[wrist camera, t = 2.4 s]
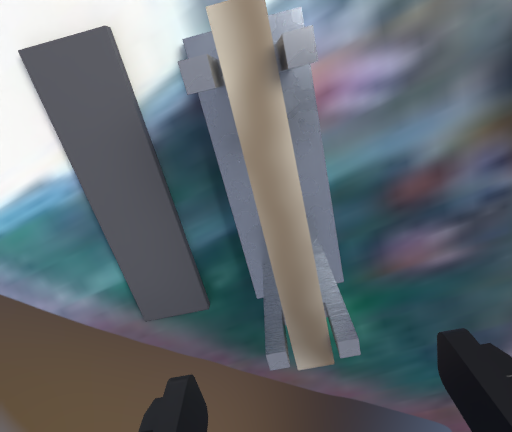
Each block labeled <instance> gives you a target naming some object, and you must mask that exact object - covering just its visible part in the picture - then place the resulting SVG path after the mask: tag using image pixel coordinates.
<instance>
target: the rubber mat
mask: <svg viewBox="0 0 512 432" xmlns="http://www.w3.org/2000/svg"><path fill="white" fill-rule="evenodd" d="M18 52H19V54H20V56H21V58H22V61H23V63H24V65H25V67H26V69H27V71H28V73H29V75H30V78H31V80H32V82H33V84H34V86H35V88H36V90H37V92H38V94H39V97H40V99H41V101H42V103H43V105H44V107H45V109H46V111H47V114H48V116H49V118H50V120H51V122H52V124H53V126H54V128H55V131H56V133H57V135H58V137H59V139H60V141H61V143H62V145H63V148H64V150H65V152H66V154H67V156H68V158H69V160H70V162H71V165H72V167H73V169H74V171H75V173H76V175H77V177H78V179H79V182H80V184H81V186H82V188H83V190H84V192H85V194H86V196H87V198H88V201H89V203H90V205H91V207H92V209H93V211H94V213H95V215H96V218H97V220H98V222H99V224H100V226H101V228H102V230H103V232H104V235H105V237H106V239H107V241H108V243H109V245H110V247H111V249H112V252H113V254H114V256H115V258H116V260H117V262H118V264H119V266H120V269H121V271H122V273H123V275H124V277H125V279H126V281H127V283H128V286H129V288H130V290H131V292H132V294H133V296H134V298H135V300H136V302H137V305H138V307H139V309H140V311H141V313H142V315H143V317H144V319H145V321H151V320H156V319H161V318H166V317H171V316H176V315H181V314H186V313H192V312H197V311H202V310H207V309H209V306H210V302H209V299H208V297H207V294H206V291H205V288H204V286H203V283H202V280H201V277H200V275H199V272H198V269H197V266H196V263H195V261H194V258H193V255H192V252H191V250H190V247H189V244H188V241H187V239H186V236H185V233H184V230H183V227H182V225H181V222H180V219H179V216H178V214H177V211H176V208H175V205H174V203H173V200H172V197H171V194H170V191H169V189H168V186H167V183H166V180H165V178H164V175H163V172H162V169H161V167H160V164H159V161H158V158H157V155H156V153H155V150H154V147H153V144H152V142H151V139H150V136H149V133H148V131H147V128H146V125H145V122H144V120H143V117H142V114H141V111H140V108H139V106H138V103H137V100H136V97H135V95H134V92H133V89H132V86H131V84H130V81H129V78H128V75H127V72H126V70H125V67H124V64H123V61H122V59H121V56H120V53H119V50H118V48H117V45H116V42H115V39H114V36H113V34H112V31H111V28H110V27H108V26H102V27H99V28H95V29H92V30H88V31H85V32H81V33H78V34H74V35H71V36H67V37H64V38H60V39H57V40H53V41H50V42H46V43H43V44H39V45H36V46H32V47H29V48H25V49H22V50H18Z"/></svg>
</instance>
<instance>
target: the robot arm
mask: <svg viewBox="0 0 512 432" xmlns="http://www.w3.org/2000/svg"><path fill="white" fill-rule="evenodd" d="M437 356H438V371H439V375H440V378H441V380H442V383H443V385H444V387H445V389H446V390H447V392H448V394H449V395H450V397H451V398H452V400H453V402H454V403H455V405H456V407H457V408H458V410H459V411H460V413H461V415H462V416H463V418H464V420H465V421H466V423H467V424H468V426H469V428H470V429H471V431H472V432H512V357H511V356H510V355H508V354H506V353H505V352H503V351H502V350H500V349H499V348H497V347H495V346H494V345H492V344H491V343H487V344H481V345H480V344H479V343H478V342H477V341H476V339H475V338H474V337H473V336H472V335H471V333H470V332H469V331H468V330H466V329H464V328H461V329H456V330H450V331H444V332H439V333H438V335H437ZM207 426H208V413H207V406H206V403H205V401H204V398H203V396H202V394H201V391H200V389H199V387H198V384H197V382H196V380H195V377H194V376H193V375H186V376H181V377H175V378H170V379H169V380H168V382H167V385H166V389H165V392H164V395H163V397H161V398H156V399H155V400H154V401H153V402H152V404H151V406H150V407H149V408H148V410H147V411H146V413H145V414H144V417H143V420H142V423H141V426H140V429H139V432H207Z"/></svg>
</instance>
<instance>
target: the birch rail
mask: <svg viewBox="0 0 512 432" xmlns="http://www.w3.org/2000/svg"><path fill="white" fill-rule="evenodd" d="M206 10H207V14H208V18H209V22H210V26H211V30H212V34H213V38H214V42H215V46H216V49H217V53H218V57H219V61H220V65H221V69H222V73H223V77H224V81H225V85H226V89H227V93H228V97H229V101H230V105H231V108H232V112H233V116H234V120H235V124H236V128H237V132H238V136H239V140H240V144H241V148H242V152H243V156H244V160H245V164H246V167H247V171H248V175H249V179H250V183H251V187H252V191H253V195H254V199H255V203H256V207H257V211H258V215H259V219H260V223H261V226H262V230H263V234H264V238H265V242H266V246H267V250H268V254H269V258H270V262H271V266H272V270H273V274H274V278H275V282H276V285H277V289H278V293H279V297H280V301H281V305H282V309H283V313H284V317H285V321H286V325H287V329H288V333H289V337H290V341H291V344H292V348H293V352H294V356H295V360H296V364H297V368H298V370H303V369H309V368H315V367H320V366H326V365H332V364H334V359H333V353H332V348H331V343H330V338H329V332H328V327H327V322H326V317H325V311H324V306H323V301H322V296H321V291H320V285H319V280H318V275H317V270H316V264H315V259H314V254H313V249H312V244H311V238H310V233H309V228H308V223H307V217H306V212H305V207H304V202H303V196H302V191H301V186H300V181H299V176H298V170H297V165H296V160H295V155H294V149H293V144H292V139H291V134H290V128H289V123H288V118H287V113H286V108H285V102H284V97H283V92H282V87H281V81H280V76H279V71H278V66H277V61H276V55H275V50H274V45H273V40H272V34H271V29H270V24H269V19H268V13H267V8H266V3H265V0H228V1H225V2H221V3H218V4H214V5H210V6H207V7H206Z"/></svg>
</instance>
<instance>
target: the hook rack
mask: <svg viewBox="0 0 512 432" xmlns="http://www.w3.org/2000/svg"><path fill="white" fill-rule="evenodd" d="M268 19H269V24H270V29H271V34H272V40H273V45H274V50H275V55H276V61H277V66H278V71H279V76H280V81H281V87H282V92H283V97H284V102H285V108H286V113H287V118H288V123H289V128H290V134H291V139H292V144H293V149H294V155H295V160H296V165H297V170H298V176H299V181H300V186H301V191H302V196H303V202H304V207H305V212H306V217H307V223H308V228H309V233H310V238H311V244H312V249H313V254H314V259H315V264H316V270H317V275H318V280H319V285H320V291H321V296H322V301H323V306H324V311H325V317H328V319H329V322H330V326H331V329H332V332H333V336H334V339H335V342H336V345H337V349H338V352H339V355H340V358H345V357H351V356H356V355H361V353H360V346H359V339H358V336H357V334H356V331H355V329H354V326H353V324H352V321H351V319H350V316H349V314H348V311H347V309H346V306H345V304H344V301H343V299H342V296H341V294H340V291H339V288H338V286H337V283H340V282H344V279H343V273H342V266H341V260H340V254H339V247H338V241H337V234H336V228H335V221H334V215H333V208H332V202H331V195H330V189H329V182H328V176H327V170H326V163H325V157H324V150H323V144H322V137H321V131H320V124H319V118H318V111H317V105H316V98H315V92H314V86H313V79H312V73H311V66H310V63H314V62H317V61H318V58H317V51H316V44H315V37H314V30H313V25H311V26H308V27H304V21H303V14H302V8H301V7H298V8H294V9H291V10H287V11H283V12H280V13H276V14H272V15H269V16H268ZM182 40H183V43H184V47H185V50H186V54H187V57H188V59H185V60H181V61H178V65H179V68H180V71H181V75H182V78H183V81H184V85H185V88H186V91H187V95H190V94H194V93H198V95H199V99H200V102H201V106H202V109H203V113H204V116H205V119H206V123H207V126H208V130H209V133H210V137H211V140H212V144H213V147H214V151H215V154H216V158H217V161H218V165H219V168H220V172H221V175H222V178H223V182H224V185H225V189H226V192H227V196H228V199H229V203H230V206H231V210H232V213H233V217H234V220H235V224H236V227H237V230H238V234H239V237H240V241H241V244H242V248H243V251H244V255H245V258H246V262H247V265H248V269H249V272H250V276H251V279H252V283H253V286H254V289H255V293H256V296H257V299H259V298H264V321H265V347H266V357H267V361H268V364H269V367H270V370H276V369H282V368H288V367H290V363H289V355H288V346H287V338H286V330H285V325H286V321H285V317H284V313H283V309H282V305H281V301H280V297H279V293H278V289H277V285H276V282H275V278H274V274H273V270H272V266H271V262H270V258H269V254H268V250H267V246H266V242H265V238H264V234H263V230H262V226H261V223H260V219H259V215H258V211H257V207H256V203H255V199H254V195H253V191H252V187H251V183H250V179H249V175H248V171H247V167H246V164H245V160H244V156H243V152H242V148H241V144H240V140H239V136H238V132H237V128H236V124H235V120H234V116H233V112H232V108H231V105H230V101H229V97H228V93H227V89H226V85H225V81H224V77H223V73H222V69H221V65H220V61H219V57H218V53H217V49H216V46H215V42H214V38H213V34H212V31H211V32H207V33H203V34H200V35H196V36H192V37H189V38H185V39H182Z"/></svg>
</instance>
